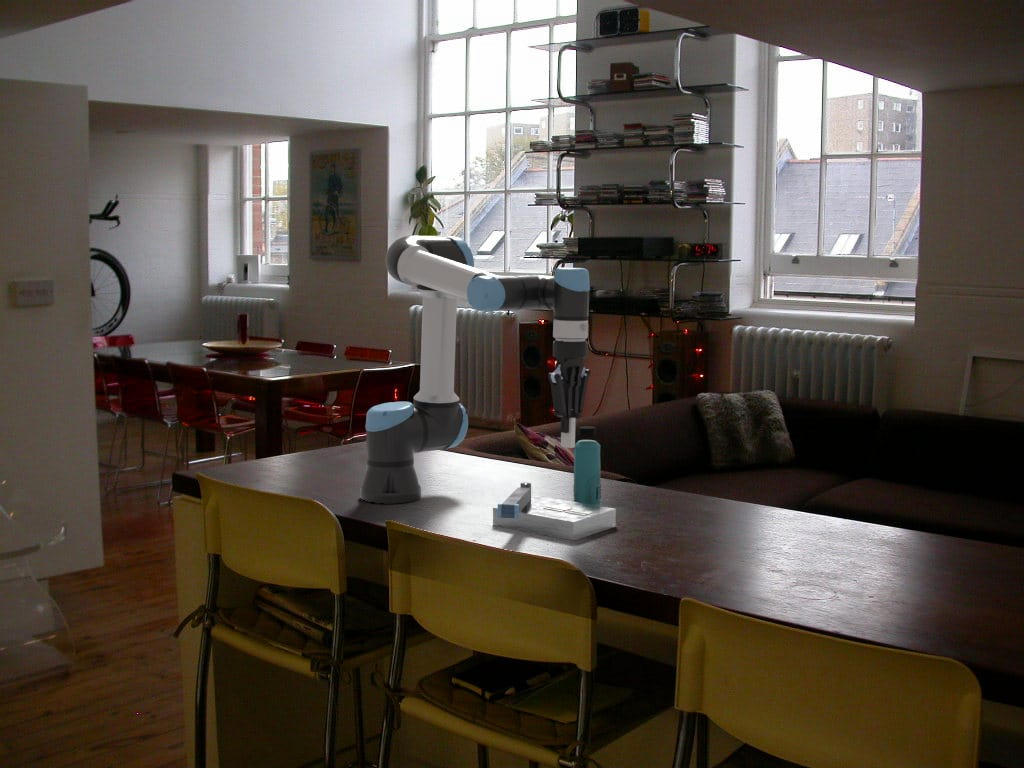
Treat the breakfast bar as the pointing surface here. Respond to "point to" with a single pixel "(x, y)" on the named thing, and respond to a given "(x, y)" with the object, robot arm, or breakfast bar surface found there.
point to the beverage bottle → (587, 468)
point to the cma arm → (514, 503)
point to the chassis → (559, 518)
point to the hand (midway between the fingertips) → (567, 446)
